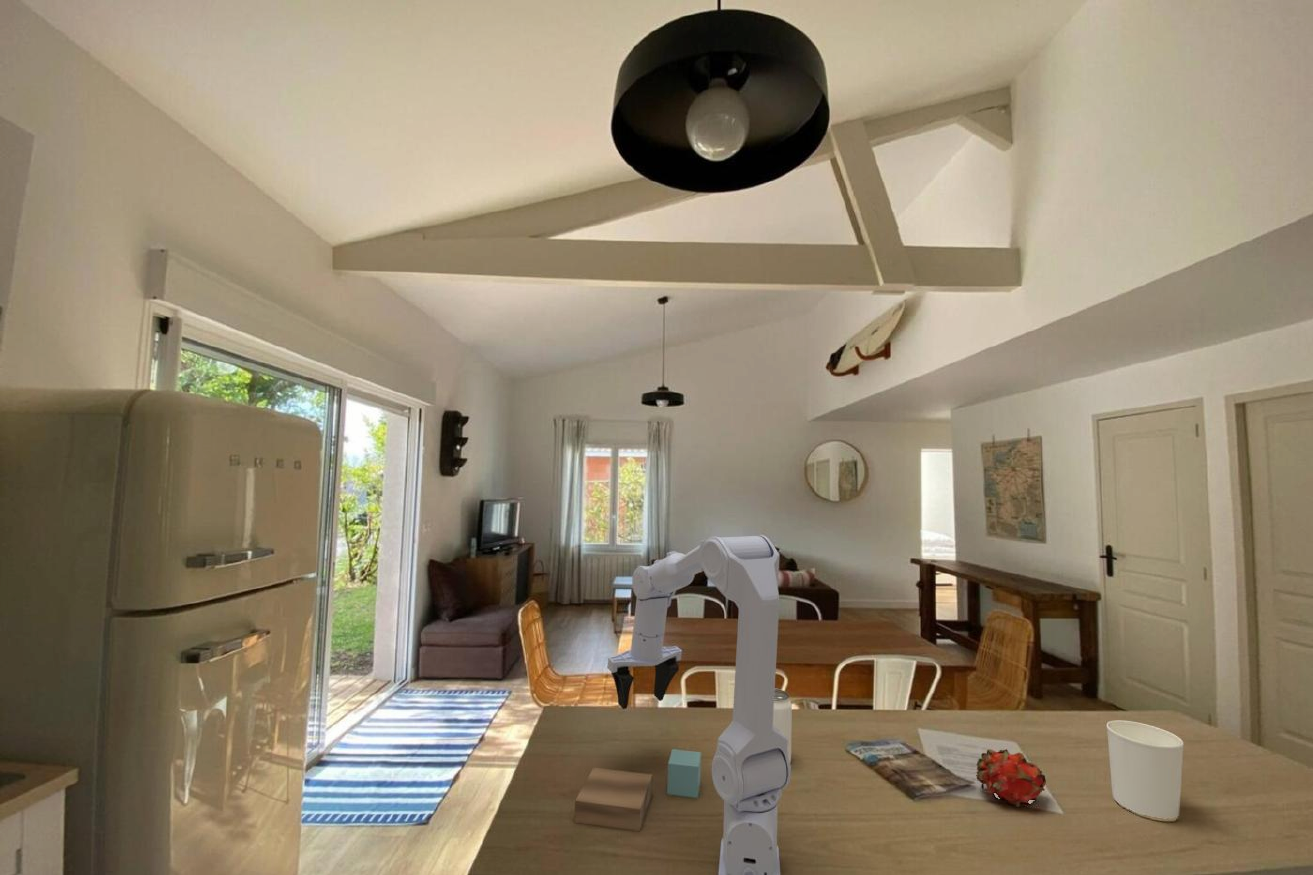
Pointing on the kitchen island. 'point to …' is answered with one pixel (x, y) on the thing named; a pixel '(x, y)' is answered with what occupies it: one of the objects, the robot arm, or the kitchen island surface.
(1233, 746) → the kitchen island surface
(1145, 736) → the candle holder
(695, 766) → the teal cube
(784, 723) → the can
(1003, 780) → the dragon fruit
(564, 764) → the kitchen island surface
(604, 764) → the kitchen island surface
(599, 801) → the walnut block
